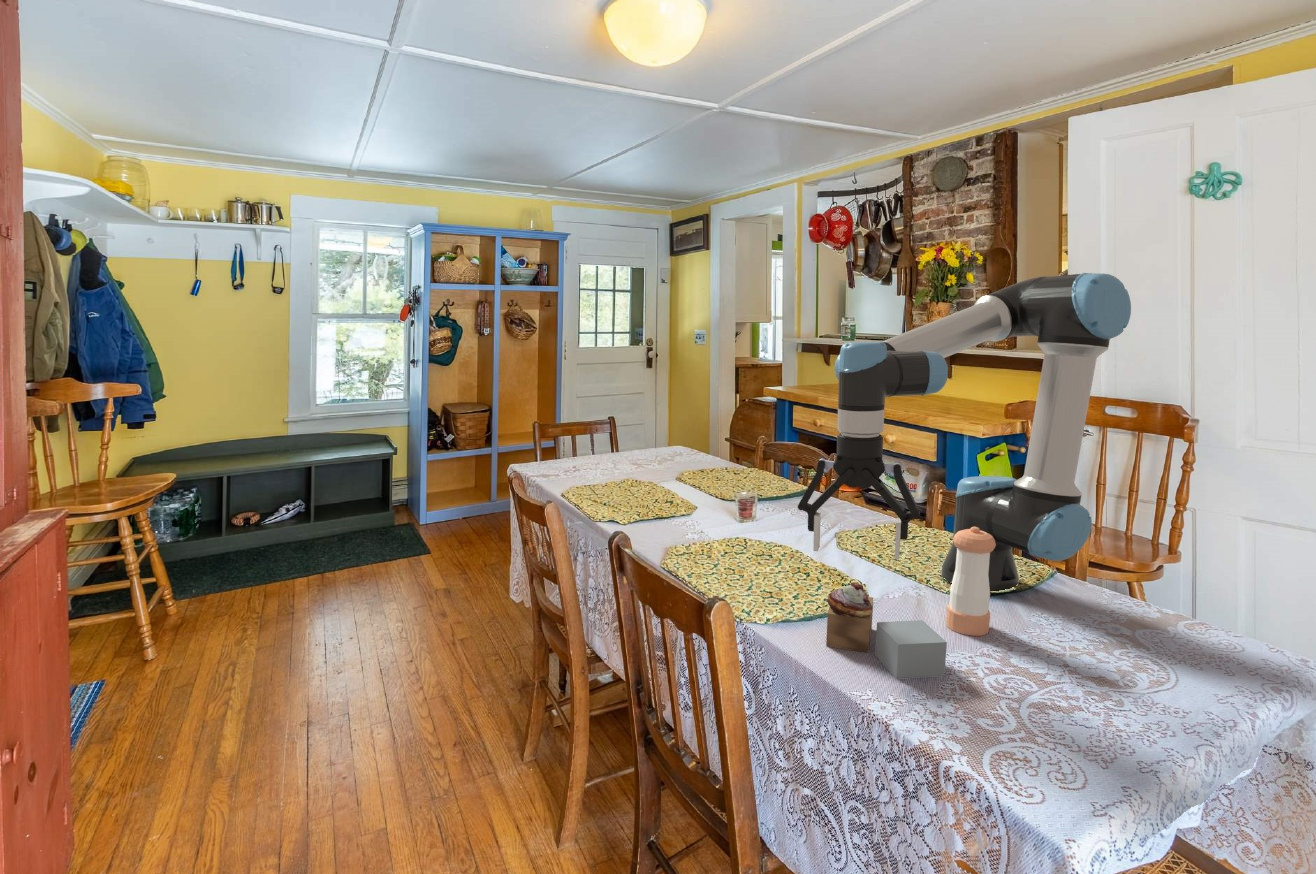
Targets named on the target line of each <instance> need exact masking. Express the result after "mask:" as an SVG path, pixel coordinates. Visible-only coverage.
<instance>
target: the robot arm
mask: <svg viewBox="0 0 1316 874" xmlns="http://www.w3.org/2000/svg"><path fill="white" fill-rule="evenodd" d="M1131 314H1132V303H1131V298H1130V295H1129V291H1128V290H1127V289H1126V288H1125V285H1124V283H1123V282H1122V281H1121V280H1120V279H1119V278H1117V277H1116V276H1114V275H1112V274H1109V273H1095V272H1094V273H1092V272H1088V273H1087V272H1083V273H1075V274H1063V275H1053V276H1052V275H1051V276H1037V277H1033V278H1029V279H1026V280H1022V281H1019V282H1016V283H1014V284H1011V285H1008V286H1006V287H1003V288H1001V289H998V290H996V291H994V292H991V293H989V294H985V295H984V296H981V297H980V298H978V299H977V300H976V301H975V302H974V304H973V305H971V306H970V307H967V308H964V309H961V310H958V311H956V312H954V313H952V314H949V315H947V316H944V317H941V318H939V319H936V320H933V321H931V322H928V323H926V324H924V325H920V326H918V327H915V328H913V329H910V330H907V331H905V332H903V333H900V334H897V335H895V336H892V337H890V338H888V339H885V340H882V341H849V342H846V343H845V342H844V343H843V344H842V345H841V347H840V352H839V354H838V356H837V357H836V360H835V362H834V363H835V364H834V374H835V377H836V379H837V380H838V398H837V401H838V402H837V403H838V405H837V431H838V435H836V436H837V437H836V458H835V460H834V461H833V460H828V459H826V458H825V457H821V458H820V459H818V461H817V465H816V472H815V474H814V476H813V477H812V480H811V481H810V483H809V484H808V487H807V489H806V491H805V493H804V494H803V496H802V497H801V499H800V501H799V502H798V505H797V509H798V510H799V511H803V512H805V513H807V529H808V532H813V552H818V551H819V549H820V547H821V546H820V543H821V515H822V514H821V511H818V510H819V509H820V508H821V507H822V506H823V505H824V504H825V503H826V502H827V501H828V500H829V499H830V498H831V497H832V496H833V495H834V494H835V493H836V492H837V491H838V490H839V489H840V488H841V487H842V486H844V485H845V486H847V487H848V488H861V489H868V488H871V487H872V488H873V489H874V490H875V492H876V493H878V494H879V495H880V497H881V498H882V499H883V500H884V501H885V503H886V504H887V505H888V506H889V507H890V509H891V510H892V511H893V512H894V513H895V515H896V516H897V517H896V519H895V520H896V522H895V541H894V560H900V555H901V553H900V552H901V541H906V540H907V539H908V537H909V536H908V535H909V534H908V533H909V523H910V522H911V521H913V520H919V519H920V517H921V511H920V509H919V506H918V505H917V502H916V501H915V498H914V497H913V494H912V492H911V490H910V488H909V486H908V484H907V481H906V480H905V478H904V476H903V470H902V463H901V462H900V461H895V462H894V463H885V462H884V461H883V451H884V449H883V448H884V437H883V436H882V433H883V432H884V422H885V405H886V403H885V402H886V398H890V397H906V396H907V397H909V396H910V397H911V396H921V397H923V396H925V395H926V396H927V395H931V394H932V395H933V394H936V393H939V392H940V391H941V390H942V389H943V388H944V387H945V386H946V384H947V380H948V378H949V372H948V371H949V368H948V363H947V362H946V361H947V360H946V359H945V358H948V357H950V356H952V355H955V354H958V353H960V352H962V351H965V350H968V349H970V348H973V347H975V346H977V345H979V344H982V343H984V342H988V341H989V342H995V343H996V342H1001V341H1003V340H1005V339H1009V338H1014V337H1037V342H1036V344H1037V345H1036V346H1038V348H1039V349H1040V350H1041V351H1042V352H1043V361H1042V367H1041V373H1040V378H1039V379H1040V380H1039V383H1038V384H1039V385H1038V390H1037V395H1036V400H1035V401H1036V402H1035V407H1034V408H1035V409H1034V413H1033V419H1032V425H1031V431H1030V436H1029V437H1030V438H1029V443H1028V449H1027V454H1026V455H1027V456H1026V462H1025V466H1024V471H1023V475H1022V477H1020V478H1018V479H1016V478H1014V477H1009V476H996V475H995V476H993V475H991V476H990V475H987V476H986V475H985V476H981V475H979V476H968V477H963V478H961V479H960V480H959V481H958V483H957V489H956V493H955V495H954V496H955V498H954V499H955V502H954V504H955V505H954V516H953V517H954V520H953V534H952V535H953V537H952V539H953V538H954V535H955V534H956V533H957V532H958V531H961V530H965V529H971V527H978V528H979V529H980V530H981V531H984V532H986V533H988V534H990V535H992V536H993V538H994V540H995V544H996V546H995V548H994V550H993V551H992V552H990V559H989V572H988V577H989V588H990V591H999V590H1005V589H1010V588H1012V587H1015V586H1016V585H1017V584H1018V585H1019V576H1020V575H1019V572H1018V568H1017V564H1016V561H1015V558H1014V554H1013V548H1015V549H1016V550H1019V551H1022V552H1025V553H1027V554H1030V555H1031V556H1034V557H1036V558H1041V559H1045V560H1047V561H1048V560H1049V561H1052V562H1060V561H1065V560H1067V559H1070V558H1071V557H1073V556H1075V554H1077V553H1078V552H1079V551H1080V550H1081V549H1082V548H1083V547H1084V545H1085V544H1086V543H1087V541H1088V538H1089V537H1090V534H1091V531H1092V524H1093V523H1092V522H1093V521H1092V517H1091V516H1090V512H1089V510H1088V509H1086V508H1085V507H1084V506H1083V505H1081V501H1082V495H1083V494H1082V491H1081V490H1080V489H1079V488H1078V487H1077V485H1076V484H1075V481H1076V476H1077V469H1078V464H1079V459H1080V454H1081V447H1082V442H1083V436H1084V432H1085V426H1086V419H1087V414H1088V408H1089V403H1090V397H1091V392H1092V386H1093V381H1094V374H1095V370H1096V363H1097V359H1098V357H1100V356H1101V355H1102V354H1104V353H1105V352H1107V351H1108V350H1109V346H1110V340H1111V339H1114V338H1116V337H1118V336H1120V335H1121V334H1122V333H1123V332H1124V329H1126V328H1127V327H1128V325H1129V322H1130V319H1131ZM831 469H833V471H834V472H835V473H836V474H837V476H838V477H836V479H834V481H833V482H832V483H831V484H830V485H829V486H827V487H826V489H825V490H824V491H823V492H822V493H821V494H820V495H819V496H818V497H817V498H816V499H815V500H814V502H813V503H809V501H810V499H811V497H812V496H813V494H814V492H815V490H816V489H817V487H818V485H819V483H820V482H821V480H822V478H823V476H824V474H825V473H828V472H829V471H830V470H831ZM885 472H886V473H888V474H889V476H890V477H891V478H892V477H893V478H894V480H895V484H896V486H897V488H898V490H899V492H900V494H901V496H902V498H903V500H904V502H905V504H906V507H907V508H908V510H909V511H908V510H907V511H906V509H905V508H904V506H902V504H901V503H900V502H899V501H898V500H897V498H896V497H895V495H894V494H893V493H892V492H891V491H890V490H889V488H888V487H887V486H886V484H885V483H884V482H883V480H882V479H881V478H880V477H881V476H883V474H884V473H885ZM956 556H957V547H955V545H954V542H953V541H952V543H951V546H950V548H949V550H948V552H947V554H946V557H945V559H944V561H943V563H942V567H941V577H942V576H943V577H944V578H945V579H946V580H947V581H948V582H951V583H952V580H953V576H954V572H955V568H956ZM947 581H946V582H947ZM948 582H947V583H948Z"/></svg>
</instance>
